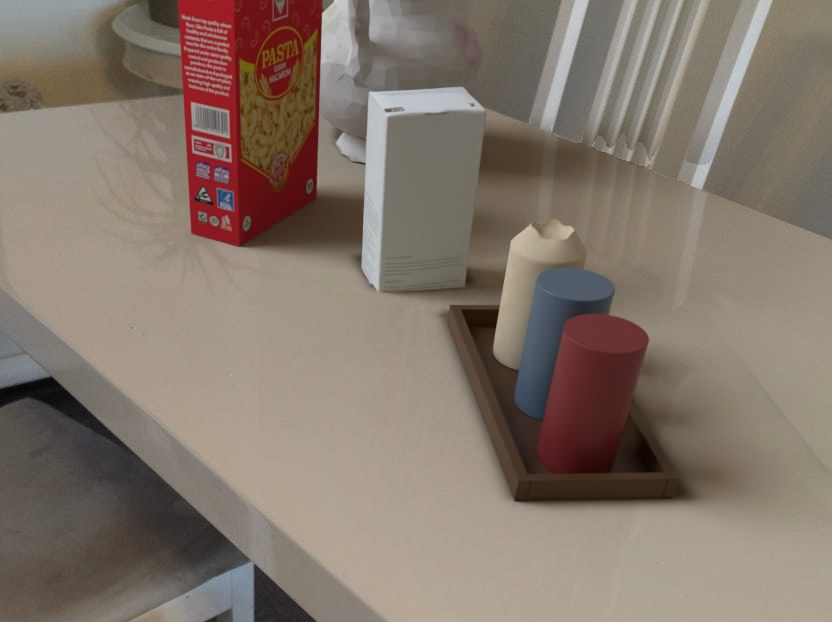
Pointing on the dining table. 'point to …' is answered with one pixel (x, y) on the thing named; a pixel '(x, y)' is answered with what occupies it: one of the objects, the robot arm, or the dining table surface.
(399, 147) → the cosmetic box
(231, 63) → the food packaging
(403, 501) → the dining table surface
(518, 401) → the slate candle
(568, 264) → the candle
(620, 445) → the tray
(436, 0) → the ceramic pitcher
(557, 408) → the burgundy candle
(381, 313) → the dining table surface
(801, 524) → the dining table surface
